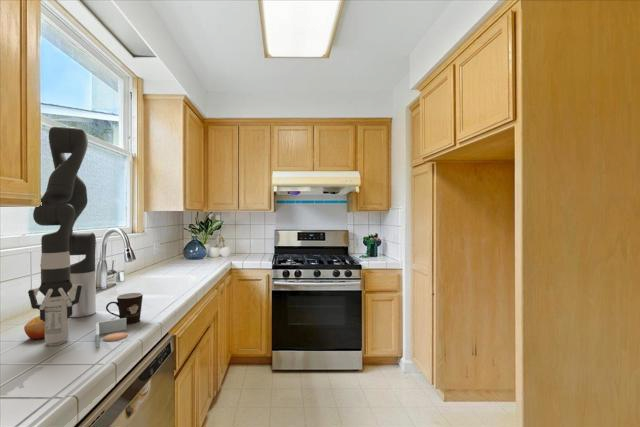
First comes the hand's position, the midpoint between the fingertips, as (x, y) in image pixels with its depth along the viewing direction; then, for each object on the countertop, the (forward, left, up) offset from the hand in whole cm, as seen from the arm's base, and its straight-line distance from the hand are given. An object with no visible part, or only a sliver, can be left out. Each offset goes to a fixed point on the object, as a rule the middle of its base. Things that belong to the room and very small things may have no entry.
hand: (56, 319), depth 113 cm
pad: (+5, +16, -7) cm, 18 cm away
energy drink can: (0, 0, -8) cm, 8 cm away
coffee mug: (-11, +20, -8) cm, 24 cm away
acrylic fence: (+5, +15, -7) cm, 18 cm away
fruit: (-9, -5, -8) cm, 13 cm away
